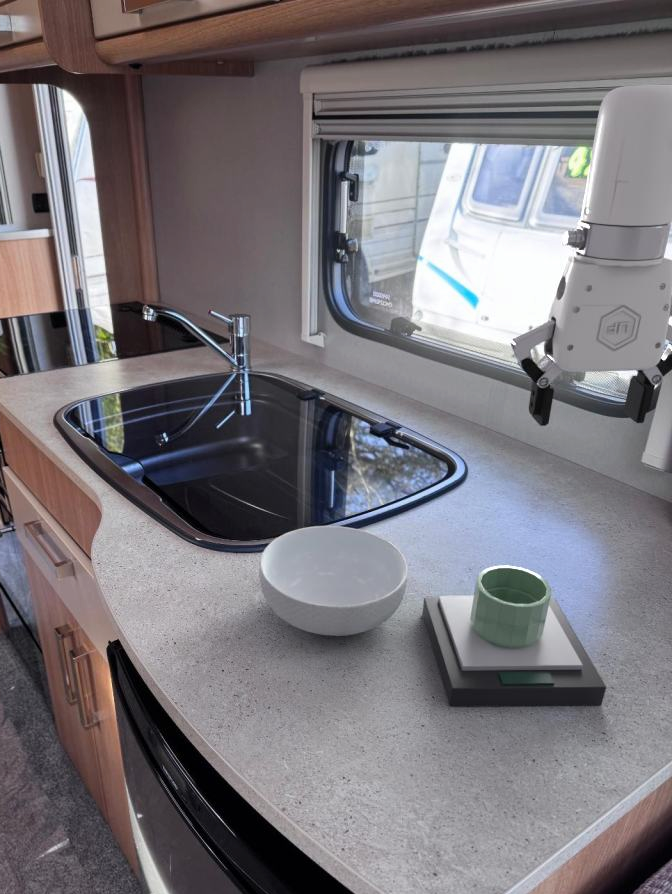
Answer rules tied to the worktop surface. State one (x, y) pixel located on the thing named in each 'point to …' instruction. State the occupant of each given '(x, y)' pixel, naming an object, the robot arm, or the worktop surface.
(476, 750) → the worktop surface
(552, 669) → the scale
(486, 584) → the small cup
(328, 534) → the cereal bowl
